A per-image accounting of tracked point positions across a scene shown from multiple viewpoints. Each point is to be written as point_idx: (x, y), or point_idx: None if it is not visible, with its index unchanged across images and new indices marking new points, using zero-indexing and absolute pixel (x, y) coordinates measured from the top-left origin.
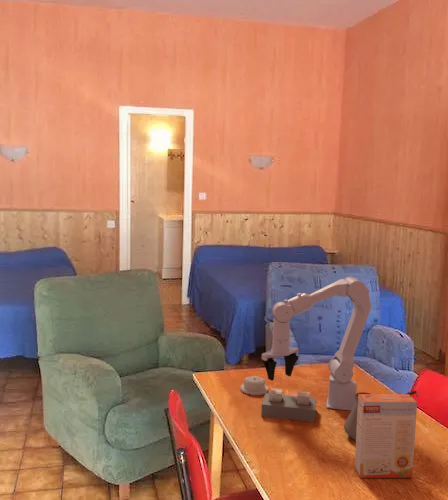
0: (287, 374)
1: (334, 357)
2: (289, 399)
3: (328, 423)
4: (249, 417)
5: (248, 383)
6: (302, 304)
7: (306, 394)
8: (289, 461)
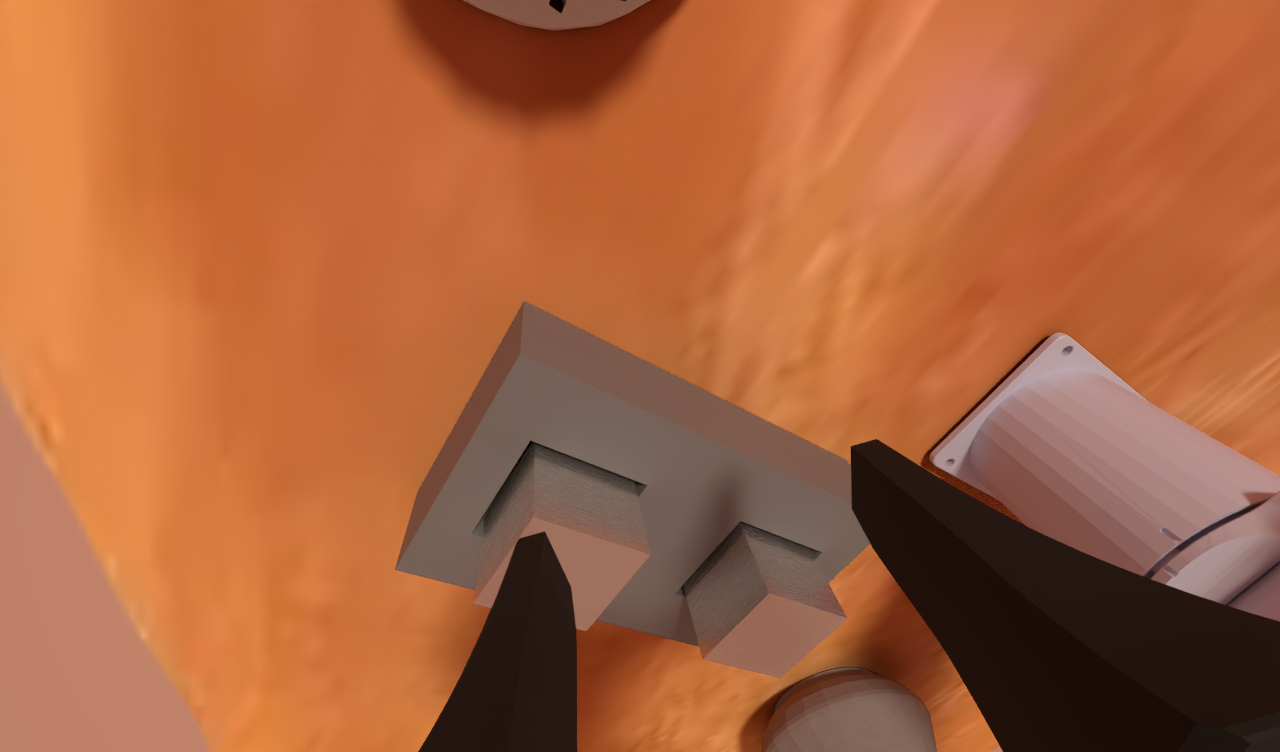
0: (859, 489)
1: None
2: (681, 516)
3: None
4: (314, 495)
5: None
6: None
7: (787, 647)
8: None
